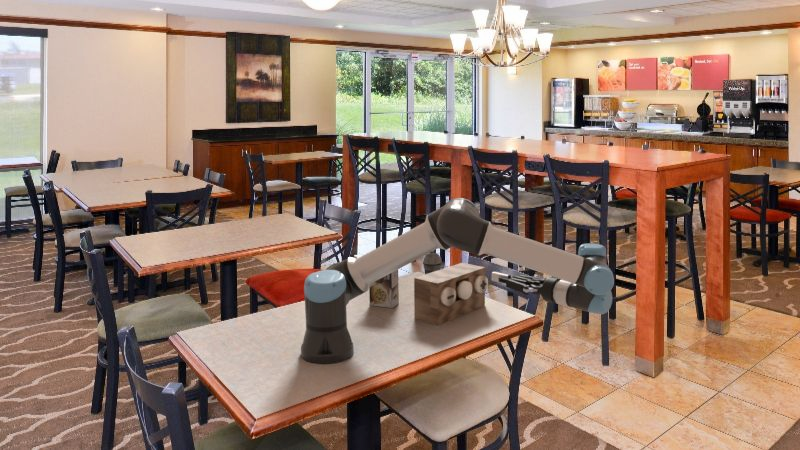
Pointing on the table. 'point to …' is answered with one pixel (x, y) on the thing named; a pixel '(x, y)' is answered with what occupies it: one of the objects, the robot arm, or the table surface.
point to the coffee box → (385, 291)
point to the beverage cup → (432, 262)
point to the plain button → (464, 289)
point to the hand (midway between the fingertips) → (492, 276)
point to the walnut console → (448, 293)
